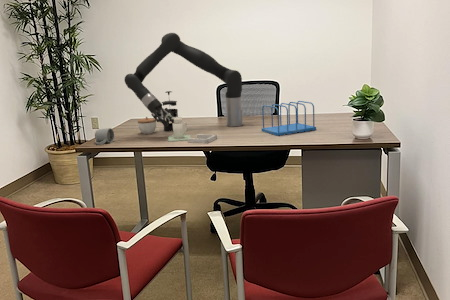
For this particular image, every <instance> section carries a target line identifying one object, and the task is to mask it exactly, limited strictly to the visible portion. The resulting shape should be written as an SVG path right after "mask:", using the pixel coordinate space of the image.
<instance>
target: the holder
mask: <svg viewBox="0 0 450 300" xmlns="http://www.w3.org/2000/svg"><path fill="white" fill-rule="evenodd" d="M217 139H218V136H217V134H202V133H197V134H196V138H194V137H191V138H188V140H187V143H193V144H194V143H195V144H209V143H211V142H213V141H216V140H217Z"/></svg>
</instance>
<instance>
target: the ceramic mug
mask: <svg viewBox="0 0 450 300" xmlns="http://www.w3.org/2000/svg"><path fill="white" fill-rule="evenodd" d="M94 138H95V140H94V142H95V144H96V145H97V146H101V145H104V144H105V143H108V144H109V143H110V144H111V143H113V142H114V139H115V132H114V130H113V129H112V128H111V127H108V128H100V129H97V130H95V133H94Z"/></svg>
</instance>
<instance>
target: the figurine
mask: <svg viewBox="0 0 450 300" xmlns="http://www.w3.org/2000/svg"><path fill="white" fill-rule="evenodd" d="M171 119H174V123H173V131H172V136H173V137H174V139H181V138H185V135H186V134H185V132H187V131H188V126H187V125H188V123H187V122H183V117H182V116H178V117H172V118H171Z"/></svg>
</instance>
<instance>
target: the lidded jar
mask: <svg viewBox="0 0 450 300" xmlns="http://www.w3.org/2000/svg"><path fill="white" fill-rule="evenodd" d="M137 126H138V130H139V131H140V132H141V133H142V135H143V134H145V135H148V134H153V133H154V132H155V130H156V128H157V121H156V120H155V119H154V117H153V118H152V117H148V116H146V117H145V118H140V119H137Z"/></svg>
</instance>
